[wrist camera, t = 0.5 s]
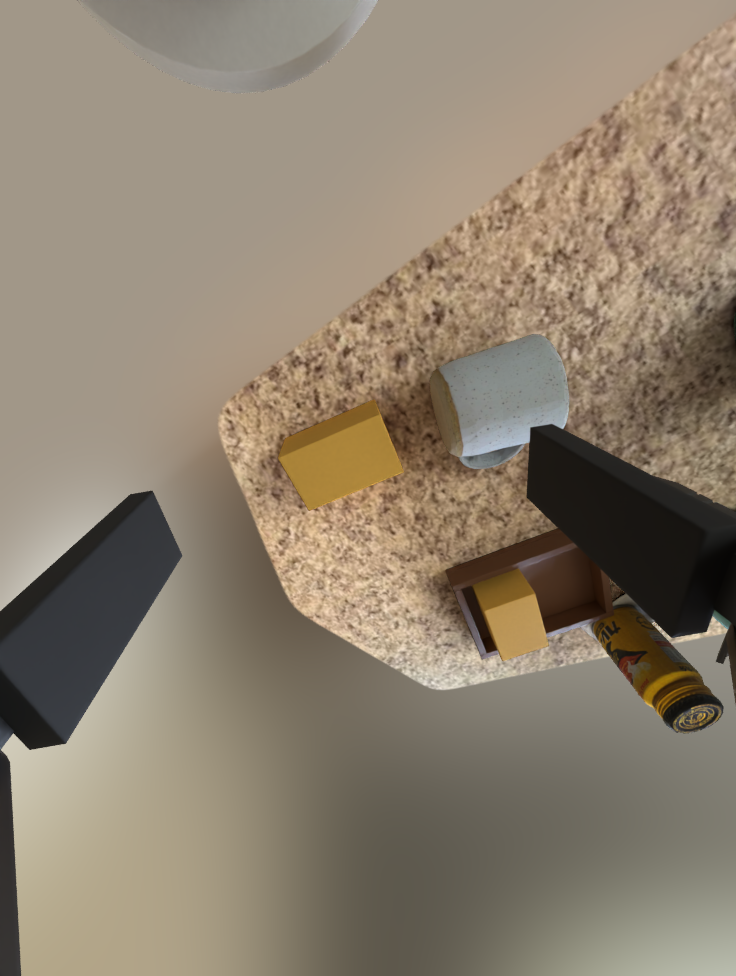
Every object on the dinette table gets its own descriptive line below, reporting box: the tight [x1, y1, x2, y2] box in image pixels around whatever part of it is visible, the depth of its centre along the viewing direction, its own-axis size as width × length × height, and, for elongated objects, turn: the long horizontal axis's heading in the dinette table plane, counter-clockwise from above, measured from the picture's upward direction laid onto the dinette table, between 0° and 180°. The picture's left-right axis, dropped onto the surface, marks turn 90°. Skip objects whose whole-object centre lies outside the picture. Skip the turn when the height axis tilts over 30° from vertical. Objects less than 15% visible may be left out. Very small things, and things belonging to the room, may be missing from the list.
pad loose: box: [278, 400, 404, 511], centre depth 30 cm, size 8×5×4 cm, turn 113°
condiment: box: [580, 594, 723, 733], centre depth 40 cm, size 7×8×12 cm
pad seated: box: [471, 568, 549, 661], centre depth 40 cm, size 8×5×4 cm, turn 23°
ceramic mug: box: [430, 334, 569, 469], centre depth 28 cm, size 11×8×8 cm
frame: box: [446, 528, 614, 659], centre depth 41 cm, size 13×16×3 cm
